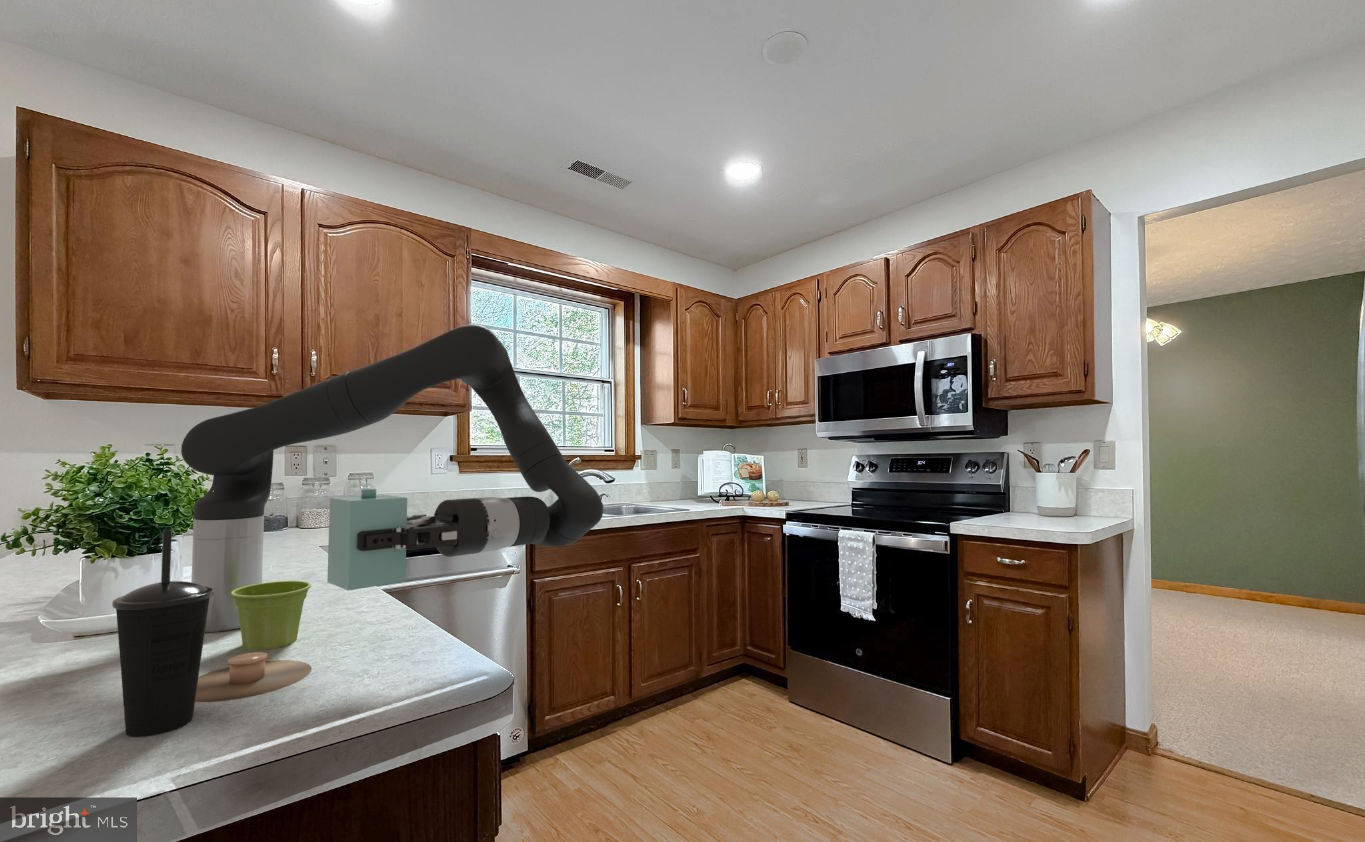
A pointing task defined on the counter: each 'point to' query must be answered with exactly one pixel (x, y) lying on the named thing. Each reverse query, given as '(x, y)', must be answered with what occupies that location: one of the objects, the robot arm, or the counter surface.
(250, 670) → the ramekin
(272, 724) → the counter surface
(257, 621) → the plant pot
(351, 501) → the teal flask block
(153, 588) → the drinking cup
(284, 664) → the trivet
